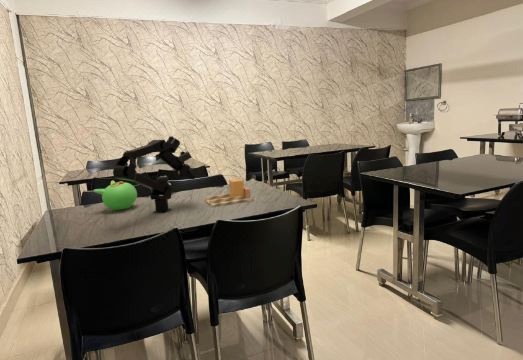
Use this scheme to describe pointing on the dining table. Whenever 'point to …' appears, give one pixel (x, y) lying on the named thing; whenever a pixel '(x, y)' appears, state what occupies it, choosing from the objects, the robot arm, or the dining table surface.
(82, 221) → the dining table surface
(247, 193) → the stop band
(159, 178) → the medicine bottle
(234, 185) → the orange block
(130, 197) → the green teapot
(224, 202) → the checkered wooden board
